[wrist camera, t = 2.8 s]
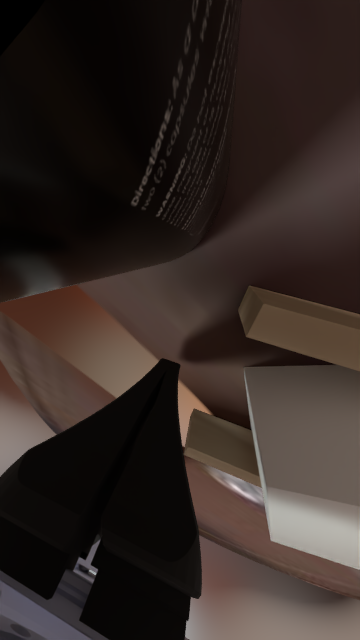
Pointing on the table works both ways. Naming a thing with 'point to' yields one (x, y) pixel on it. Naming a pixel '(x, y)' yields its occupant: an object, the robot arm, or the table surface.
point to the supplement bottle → (110, 134)
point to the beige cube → (309, 456)
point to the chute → (286, 332)
